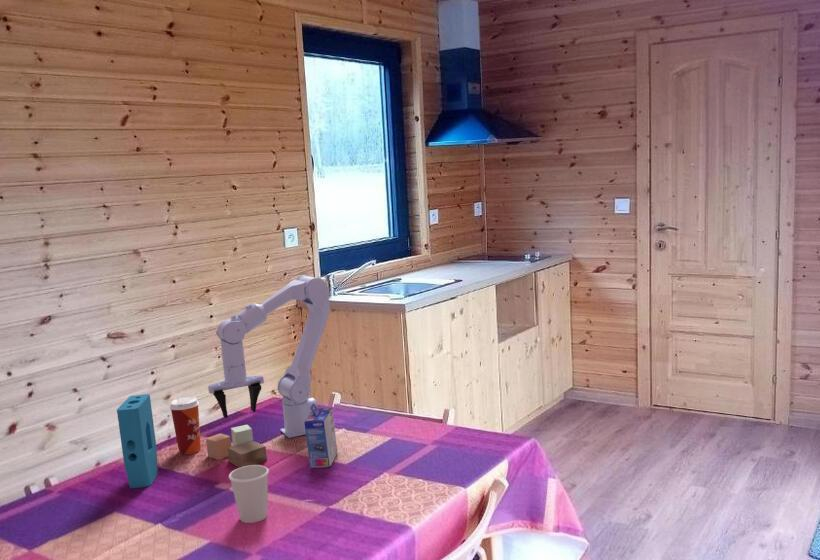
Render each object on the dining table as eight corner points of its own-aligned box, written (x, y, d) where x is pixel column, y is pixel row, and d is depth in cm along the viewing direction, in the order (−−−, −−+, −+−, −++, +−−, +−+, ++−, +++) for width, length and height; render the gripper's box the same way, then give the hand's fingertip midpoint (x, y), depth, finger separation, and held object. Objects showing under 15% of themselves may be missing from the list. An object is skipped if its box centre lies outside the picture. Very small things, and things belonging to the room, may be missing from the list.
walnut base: (253, 454, 202) (252, 440, 201) (267, 461, 196) (265, 446, 196) (229, 462, 197) (227, 447, 197) (242, 469, 192) (240, 454, 191)
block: (148, 489, 183) (137, 408, 180) (126, 491, 183) (115, 410, 180) (160, 469, 195) (150, 393, 192) (140, 471, 195) (130, 395, 192)
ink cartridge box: (317, 453, 198) (311, 399, 196) (338, 452, 198) (333, 398, 196) (308, 468, 189) (302, 411, 187) (330, 467, 188) (324, 410, 186)
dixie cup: (256, 505, 170) (251, 461, 168) (281, 513, 164) (276, 469, 163) (225, 520, 163) (220, 475, 162) (250, 529, 158) (245, 483, 157)
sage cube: (249, 441, 211) (247, 424, 210) (253, 446, 207) (251, 428, 206) (233, 445, 209) (231, 428, 208) (237, 450, 205) (235, 432, 204)
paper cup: (199, 455, 204) (193, 404, 202) (171, 456, 204) (164, 406, 202) (208, 444, 211) (202, 395, 209) (180, 446, 212) (174, 397, 210)
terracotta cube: (222, 451, 206) (220, 433, 205) (232, 454, 203) (230, 436, 202) (208, 456, 202) (205, 438, 202) (217, 460, 199) (215, 441, 199)
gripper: (210, 372, 198) (216, 423, 200) (264, 362, 205) (270, 411, 207) (204, 367, 204) (209, 416, 206) (257, 357, 211) (262, 405, 213)
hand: (239, 413), depth 207 cm, fingers open, 7 cm apart
